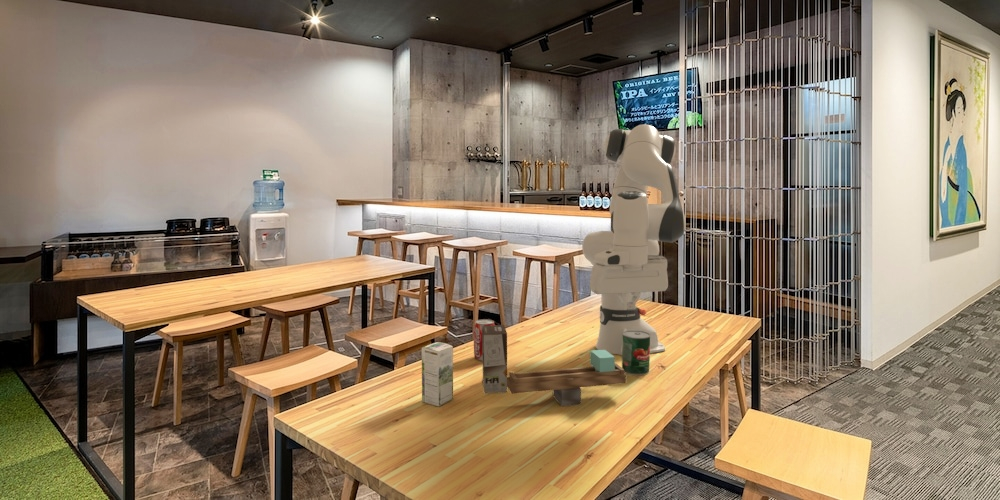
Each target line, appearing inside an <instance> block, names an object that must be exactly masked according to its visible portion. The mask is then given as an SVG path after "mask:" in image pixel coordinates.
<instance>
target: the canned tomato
mask: <svg viewBox="0 0 1000 500" xmlns="http://www.w3.org/2000/svg"><path fill="white" fill-rule="evenodd" d="M622 345H623V347H622V348H623V349H622V355H621V357H622V358H621V361H622V362H621V367H622V368H623V369H624V373H625V374H629V375H633V376H643V375H644V376H645V375H647V374H649V373H650V364H651V363H650V360H651V359H650V356H651V353H650V334H649V333H647V332H644V331H636V330H631V331H625V332H623V344H622Z"/></svg>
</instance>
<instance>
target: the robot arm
mask: <svg viewBox="0 0 1000 500" xmlns="http://www.w3.org/2000/svg"><path fill="white" fill-rule="evenodd" d="M675 143H676V142H675V140H674V138H673V137H671V136H670V135H669V136H668V135H667V134H663V135H661V134H660V132H659V130H658V129H657V128H656V127H654V126H653V125H650V124H646V123H645V124H639V125H636V126H635V127H633V128H632V129H623V128H616V129H612V131H610V132H609V134H608V136H607V137H606V139H605V142H604V152H605V157H606V158H607V159H608V160H610V161H612V162H615V163H617V162H619V163H621V165H619V167H618V168H619V169H618V171H617V174H616V177H615V179H614V183H613V187H612V188H613V189H612V194H611V198H610V204H609V214H610V230H599V231H593V232H592V231H591V232H589V233H588V234H587V235H586V236H585V237H584V239H583V241H582V244H581V245H582V246H581V250H582V254H583V255H584V257H585V259H586V260H587V261H588V262H589V263H590V264H591V265H592V268H591V271H590V277H589V289H590V291H591V292H592V293H594V294H595V295H601V305H600V307H599V323H600V324H599V331H598V336H597V341H596V344H595V348H596V350H604V349H605V350H606V351H607V352H609V353H610V354H612V355H620V356H622V349H623V348H622V347H623V345H622V344H623V332H625V331H631V330H636V331H644V332H647V333H649V334H650V354H653V353H659V352H664V351H666V346H665V345H664V344H663V343H662V342H661V341H659V337H658V334H657V331H656V330H657V329H655V328H654V327H653V326H652V325H650V324H649V323H648V322H647V321H645V320H644V319H643V318H642V317H641V316H644V317H645V316H646V315H647V310H646V309H644V308H639V307H638V306H636V305H637V303H638V301H639V299H640V297H641V293H651V292H665V291H666V290H667V289H668V287H669V278H668V270H667V269H668V259H667V258H666V257H665V256H664V255H661V254H660V245H659V242H663V243H672V244H674V243H675V242H676V241H677V240H679V239H680V238H682V236H683V235H684V233H685V230H686V228H687V227H686V223H687V222H686V215H685V212H684V210H683V206H682V203H681V199H680V194H679V190H678V184H677V180H676V176H675V172H674V169H673V166H672V165H671V163H672V161H673V160H674V159H675V155H676V145H675ZM648 187H651V188H654V189H656V190H659V191H660V192H661V194H662V199H663V203H655V204H654V203H649V201H648V196H647V194H648Z"/></svg>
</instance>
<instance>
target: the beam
mask: <svg viewBox="0 0 1000 500" xmlns="http://www.w3.org/2000/svg"><path fill="white" fill-rule="evenodd" d="M619 384H620V385H621V384H627V373H625V372H624V369H623V368H622V366H620V365H619V364H618V363H616V362H615V371H608V372H599V371H595V368H594V367H593V366H585V367H584V366H582V367H573V368H572V367H571V368H570V367H569V368H561V369H549V370H548V369H547V370H537V371H526V372H525V371H523V372H513V371H511V372H510V371H509V372H508V376H507V390H509V392H510V393H511V394H512V395H513V394H514V395H515V394H524V393H525V394H526V393H535V392H546V391H552V396H553V397H554V399H555V400H556V401H557V402H558V403H559V405H560V406H561V407H567V406H568V407H570V406H578V405H582V388H590V387H599V386H609V385H610V386H611V385H619Z"/></svg>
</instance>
